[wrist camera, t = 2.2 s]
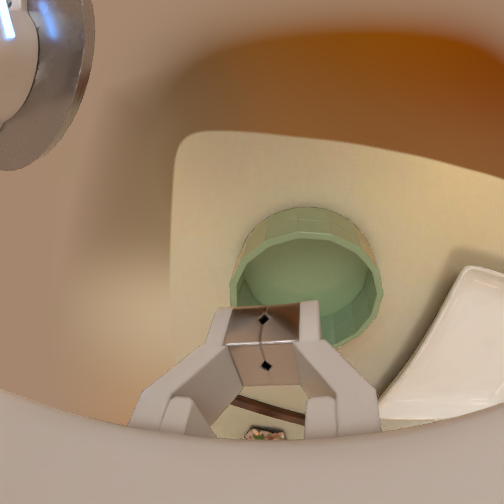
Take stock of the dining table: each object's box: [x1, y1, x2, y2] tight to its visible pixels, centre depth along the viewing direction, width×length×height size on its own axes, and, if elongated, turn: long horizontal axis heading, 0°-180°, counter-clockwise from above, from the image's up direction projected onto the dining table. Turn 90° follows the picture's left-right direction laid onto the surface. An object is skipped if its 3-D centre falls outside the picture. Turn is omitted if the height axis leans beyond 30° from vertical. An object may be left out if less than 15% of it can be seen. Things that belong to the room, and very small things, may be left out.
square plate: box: [378, 265, 504, 420], centre depth 32 cm, size 27×27×4 cm
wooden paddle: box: [230, 395, 305, 426], centre depth 44 cm, size 22×6×1 cm, turn 67°
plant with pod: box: [244, 428, 286, 440], centre depth 42 cm, size 8×11×20 cm
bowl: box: [230, 207, 383, 348], centre depth 29 cm, size 13×13×5 cm
